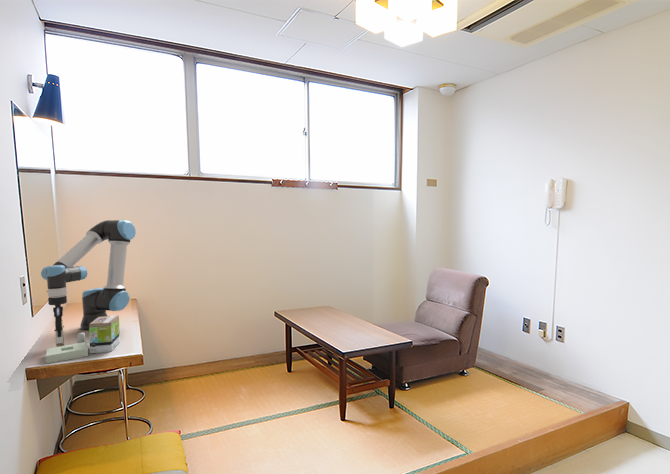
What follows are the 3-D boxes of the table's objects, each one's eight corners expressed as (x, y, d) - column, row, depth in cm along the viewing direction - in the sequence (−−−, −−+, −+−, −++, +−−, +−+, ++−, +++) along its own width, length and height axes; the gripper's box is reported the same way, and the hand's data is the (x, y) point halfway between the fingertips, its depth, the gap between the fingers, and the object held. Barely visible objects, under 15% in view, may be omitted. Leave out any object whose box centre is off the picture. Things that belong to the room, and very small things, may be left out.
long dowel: (64, 346, 196) (62, 319, 195) (64, 348, 193) (62, 320, 192) (56, 347, 194) (55, 320, 193) (56, 349, 191) (54, 321, 190)
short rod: (85, 345, 197) (84, 332, 196) (85, 347, 194) (85, 333, 194) (78, 346, 195) (77, 333, 194) (78, 348, 192) (77, 334, 192)
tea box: (112, 351, 187) (111, 322, 186) (89, 354, 184) (87, 323, 183) (120, 342, 201) (119, 314, 201) (98, 344, 199) (97, 316, 198)
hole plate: (87, 348, 192) (86, 341, 191) (88, 355, 182) (87, 348, 182) (47, 355, 182) (46, 348, 182) (46, 363, 173) (45, 356, 172)
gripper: (48, 294, 196) (51, 339, 198) (47, 299, 183) (50, 347, 184) (66, 292, 201) (68, 336, 202) (66, 297, 187) (69, 344, 189)
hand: (59, 341), depth 193 cm, fingers closed on long dowel, 3 cm apart
